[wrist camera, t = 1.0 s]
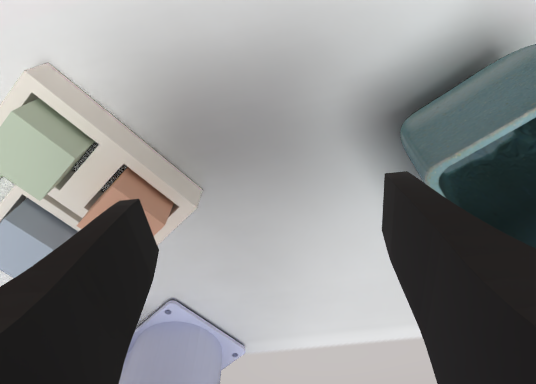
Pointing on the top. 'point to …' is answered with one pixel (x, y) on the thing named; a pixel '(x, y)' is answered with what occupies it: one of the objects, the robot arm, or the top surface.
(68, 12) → the top surface
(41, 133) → the sage button
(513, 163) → the flower pot
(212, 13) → the top surface
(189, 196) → the button strip
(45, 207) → the side socket
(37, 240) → the blue-grey cube
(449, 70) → the top surface
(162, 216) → the orange-brown cube
